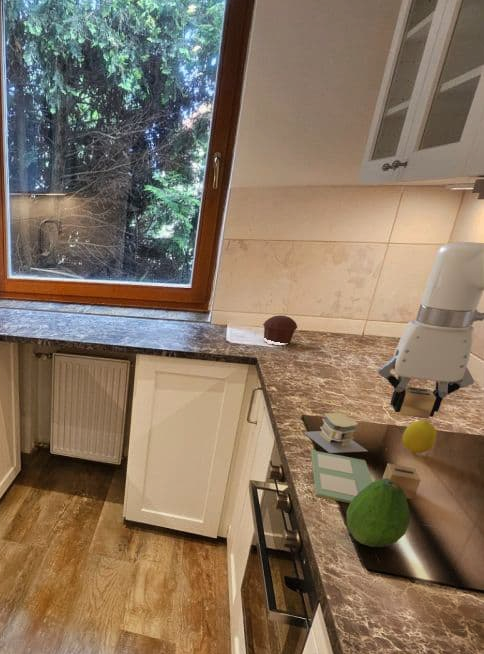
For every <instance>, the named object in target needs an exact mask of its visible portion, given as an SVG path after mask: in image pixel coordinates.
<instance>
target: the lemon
mask: <svg viewBox="0 0 484 654" xmlns="http://www.w3.org/2000/svg"><path fill="white" fill-rule="evenodd" d="M437 432H438V431H437V429H436V427H435V426H434V424H432V423H430V422H429V421H428V420H427V419H424V420H418V421H414V422H412V423H410V424H409V425H407V427H406V428H405V430H404V432H403V433H402V437H401V438H402V444H403V446H404V447H405V449H407V450H408V451H409V452H410V453H411V454H412V455H415V454H421V453H426V452H428V451H430V450H431V449H432V448H433V447H434V446H435V444H436V442H437V436H438V435H437V434H438V433H437Z"/></svg>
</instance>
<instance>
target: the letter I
mask: <svg viewBox="0 0 484 654" xmlns="http://www.w3.org/2000/svg"><path fill="white" fill-rule="evenodd" d="M386 478H387V479H389V480H391V481H393V482H395V483H397V484H398V485H399V486H400V487H401V488H402V490H403V491H404V493H405V496H406V499H407V500H414V498H415V495H416V493H417V490H418V488H419V485H420V483H421V482H422V481H421V478H420V475H419V473H418V471H417V469H416V468H415V467H409V466H404V465H399V464H393V463H387V464H386V467H385V469H384V472H383V475H382V478H381V479H386Z"/></svg>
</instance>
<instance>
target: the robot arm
mask: <svg viewBox="0 0 484 654" xmlns="http://www.w3.org/2000/svg"><path fill="white" fill-rule="evenodd" d="M483 293H484V242H474V241H473V242H472V241H471V242H469V241H456V242H447V243H445V244H443V245H442V246H441V247H439V248H438V250H437V252H436V255H435V257H434V261H433V264H432V267H431V271H430V274H429V276H428V280H427V282H426V286H425V289H424V292H423V295H422V299H421V301H420V306H419V308H418V312H417V315H416V318H415V319H414V320H413V319H411V320H409V321H408V323H407V324H406V326H405V328H404V330H403V332H402V334H401V335H400V339H399V341H398V343H397V346H396V348H395V351H394V354H393V356H392V358H390V359H389V360H388V361H386V362H385V363H384V364H383V365H381V366H380V367H379V368H378V369H377V372H378V374H379V375H380V376H381V377H382V378H384V379H385V380H386V381H388V383H389V384H390V386H391V387H393V388H394V390H393V392H392V396H391V399H390V404H389V405H390V406H391V407H392V409H393V411H394V412H395V413H399V412H400V410H401V407H402V403H403V400H404V397H405V392H404V391H405V387H406V386H407V387H408V385H409V383H410V381H411V380H412V379H415V380H424V381H430V382H431V381H432V382H435V384H434V390H433V391H432V390H431V391H432V392H433V394H434V395H435V396H436V400H435V402H434V405H433V408H432V411H431V414H430V416H429V418H433V417H434V415H435V413H438V412H439V411H440V407H441V405H442V401H443V399H444V398H447V396H448V395H450V394H452V393H454V392H456V391H458V390H459V389H463V388H466V387H468V386H471V385H473V384H475V379H474V378H473V376H472V374H471V372H470V370H469V369H468V363H469V360H470V357H471V352H472V347H473V343H474V342H473V341H474V335H475V328H474V326H473V324H474V323H475V322H477V321H478V322H479V321H480V322H483V321H484V312H480V311H478V306H479V303H480V301H481V298H482V295H483ZM392 370H394V374H395V375H397V376H395V375H394V374H393V373H391V371H392Z"/></svg>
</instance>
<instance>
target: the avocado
mask: <svg viewBox="0 0 484 654" xmlns="http://www.w3.org/2000/svg"><path fill="white" fill-rule="evenodd" d="M410 520H411V519H410V509H409V502H408V499H407V498H406V496H405V493H404V491H403V490H402V488H401V487H400V486H399V485H398V484H397V483H395V482H393V481H391V480H389V479H387V478H386V479H382V478H377V479H375V480H374V481H373V480H372V483H370V484H369V485H368V486H367V487H366V488H364V489H363V490H362V491H361V492H360V493H358V494H357V496H356V497H355V498H354V499H353V500H352V501H351V502H350V503H348V506H347V509H346V527H347V529H348V531H349V533H350V535H351V536H352V537H353V539H354V540H355V541H356V542H357V543H359V544H362V545H364V546H367V547H370V548H384V547H389V546H392V545H394V544H395V543H397V542H398V541H399V540H400V539H402V538H403V536H404V535H406V533H407V530H408V528H409V525H410Z"/></svg>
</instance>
